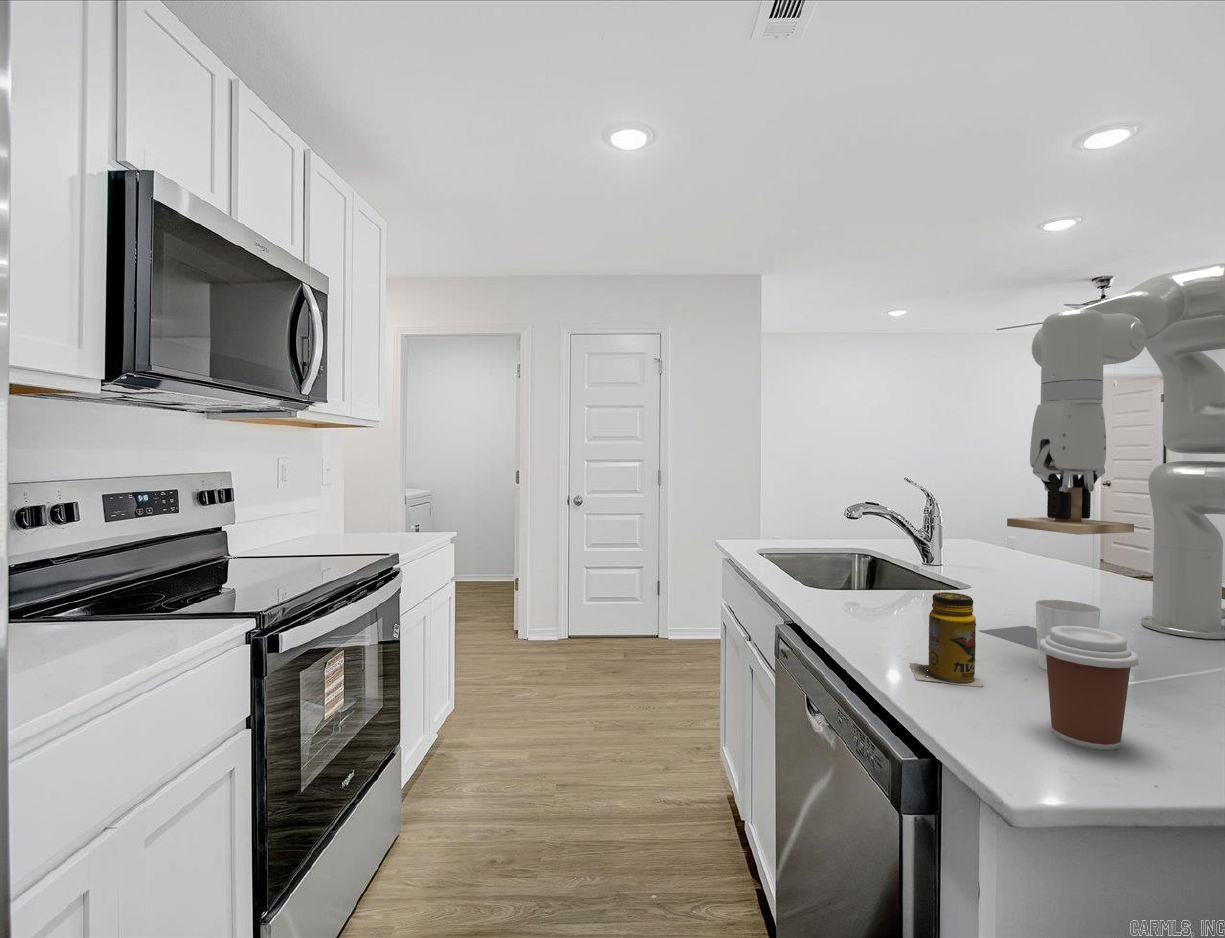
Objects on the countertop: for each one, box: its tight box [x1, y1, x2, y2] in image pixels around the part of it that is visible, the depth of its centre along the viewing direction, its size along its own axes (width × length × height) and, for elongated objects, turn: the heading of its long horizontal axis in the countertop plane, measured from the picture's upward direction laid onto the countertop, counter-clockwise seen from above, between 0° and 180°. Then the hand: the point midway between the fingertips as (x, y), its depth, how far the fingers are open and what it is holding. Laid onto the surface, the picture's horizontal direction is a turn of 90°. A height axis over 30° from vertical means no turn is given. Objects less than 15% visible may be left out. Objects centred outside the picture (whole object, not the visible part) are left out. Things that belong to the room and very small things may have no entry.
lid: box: [1006, 486, 1135, 536], centre depth 94 cm, size 11×11×6 cm
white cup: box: [1035, 599, 1101, 671], centre depth 94 cm, size 8×8×10 cm
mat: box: [978, 625, 1038, 650], centre depth 111 cm, size 12×12×1 cm
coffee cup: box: [1039, 626, 1139, 751], centre depth 72 cm, size 9×9×12 cm
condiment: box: [909, 591, 983, 688], centre depth 92 cm, size 7×8×12 cm
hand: (1068, 517), depth 94 cm, fingers closed on lid, 3 cm apart
